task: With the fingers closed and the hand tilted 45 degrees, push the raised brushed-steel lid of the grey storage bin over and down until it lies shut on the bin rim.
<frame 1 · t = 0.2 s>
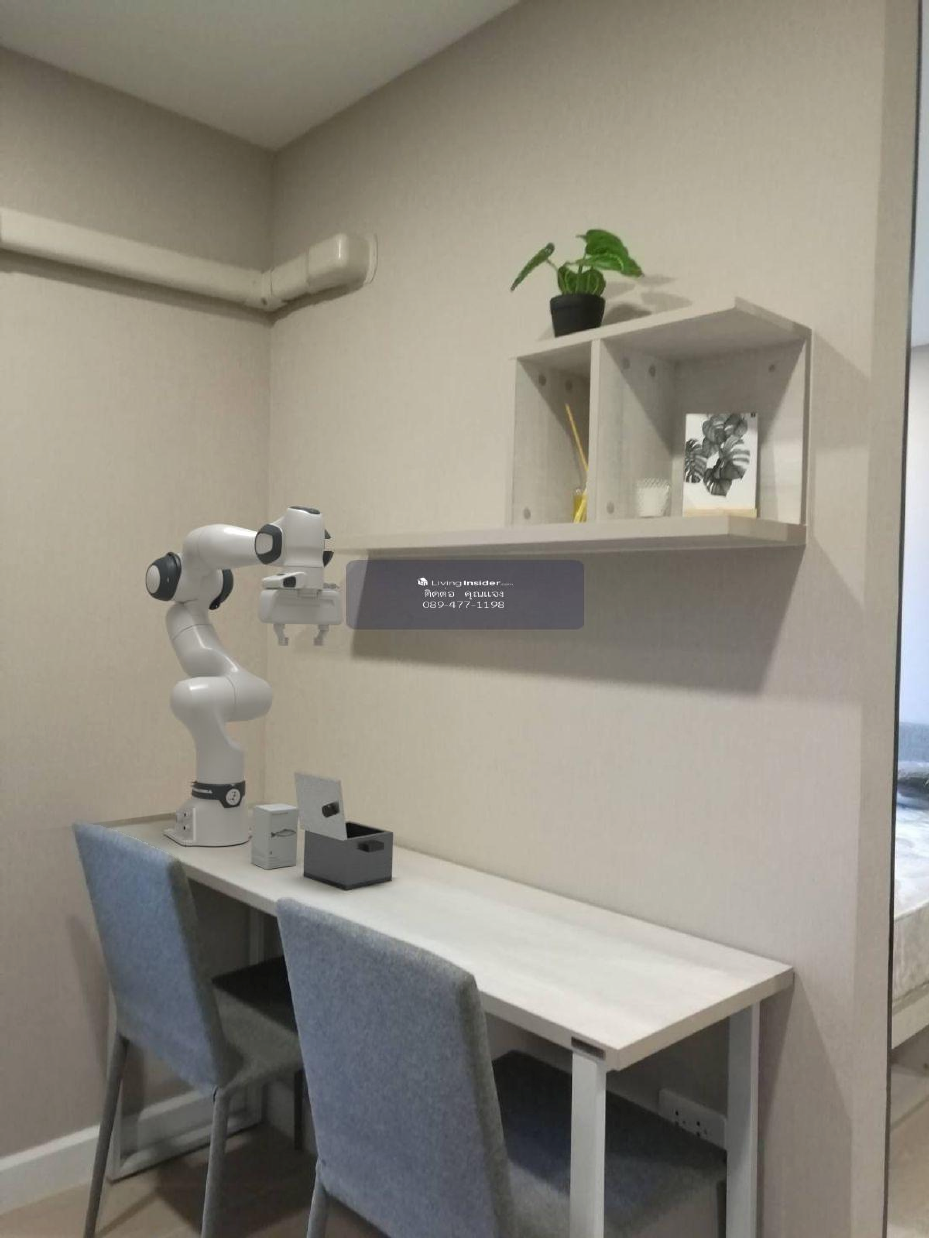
hand: (301, 645, 213), 48 cm above the table, tool pointing down, fingers open, 8 cm apart
lid: (316, 806, 198), point 16 cm above the table, hinge at 100.0°
grey storage bin: (347, 878, 204), on the table
supplement box: (273, 865, 214), on the table
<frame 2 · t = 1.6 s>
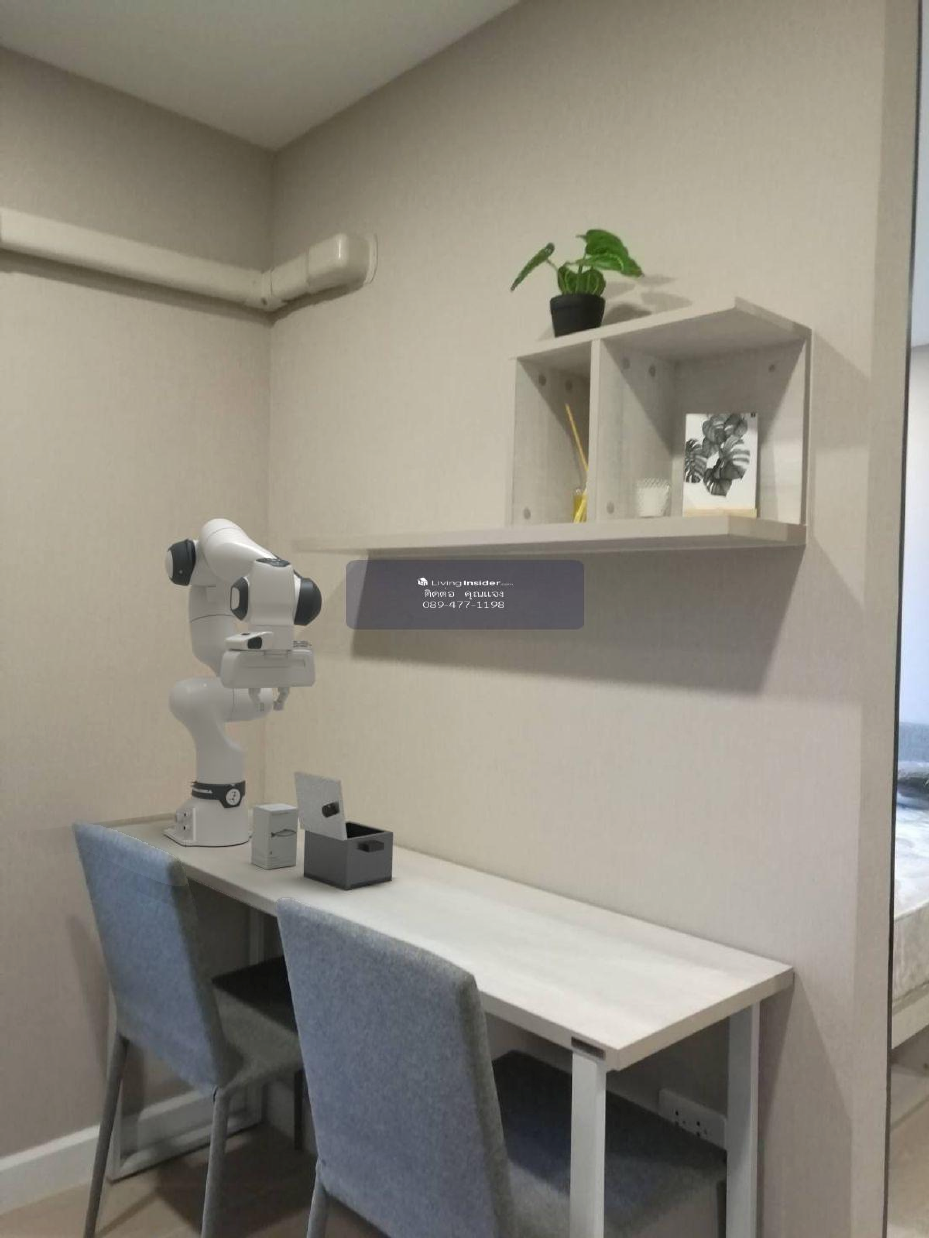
hand: (268, 710, 194), 35 cm above the table, tool pointing down, fingers open, 3 cm apart
nothing on the table moved.
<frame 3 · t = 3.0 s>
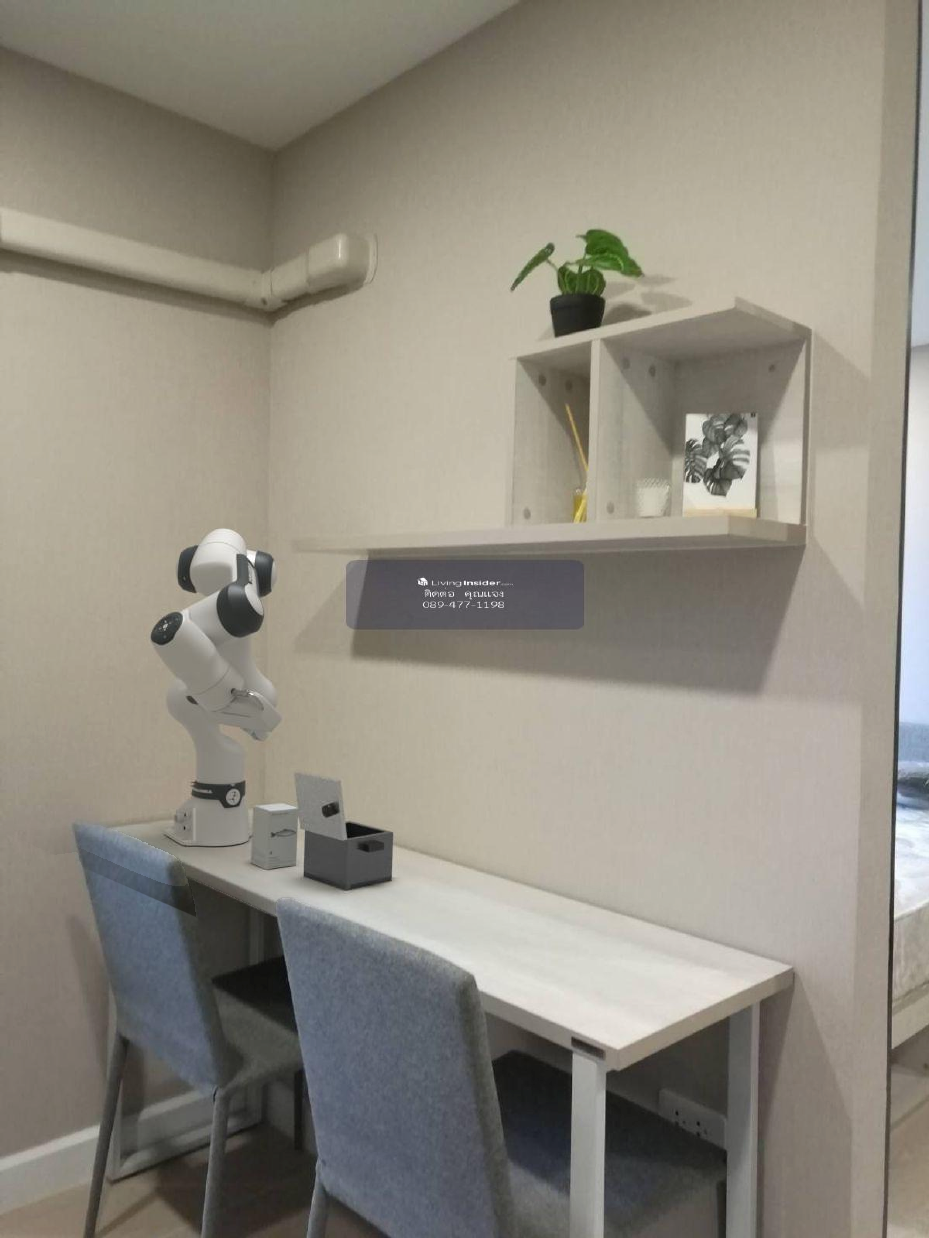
hand: (261, 738, 188), 30 cm above the table, tool tilted 45°, fingers closed
nothing on the table moved.
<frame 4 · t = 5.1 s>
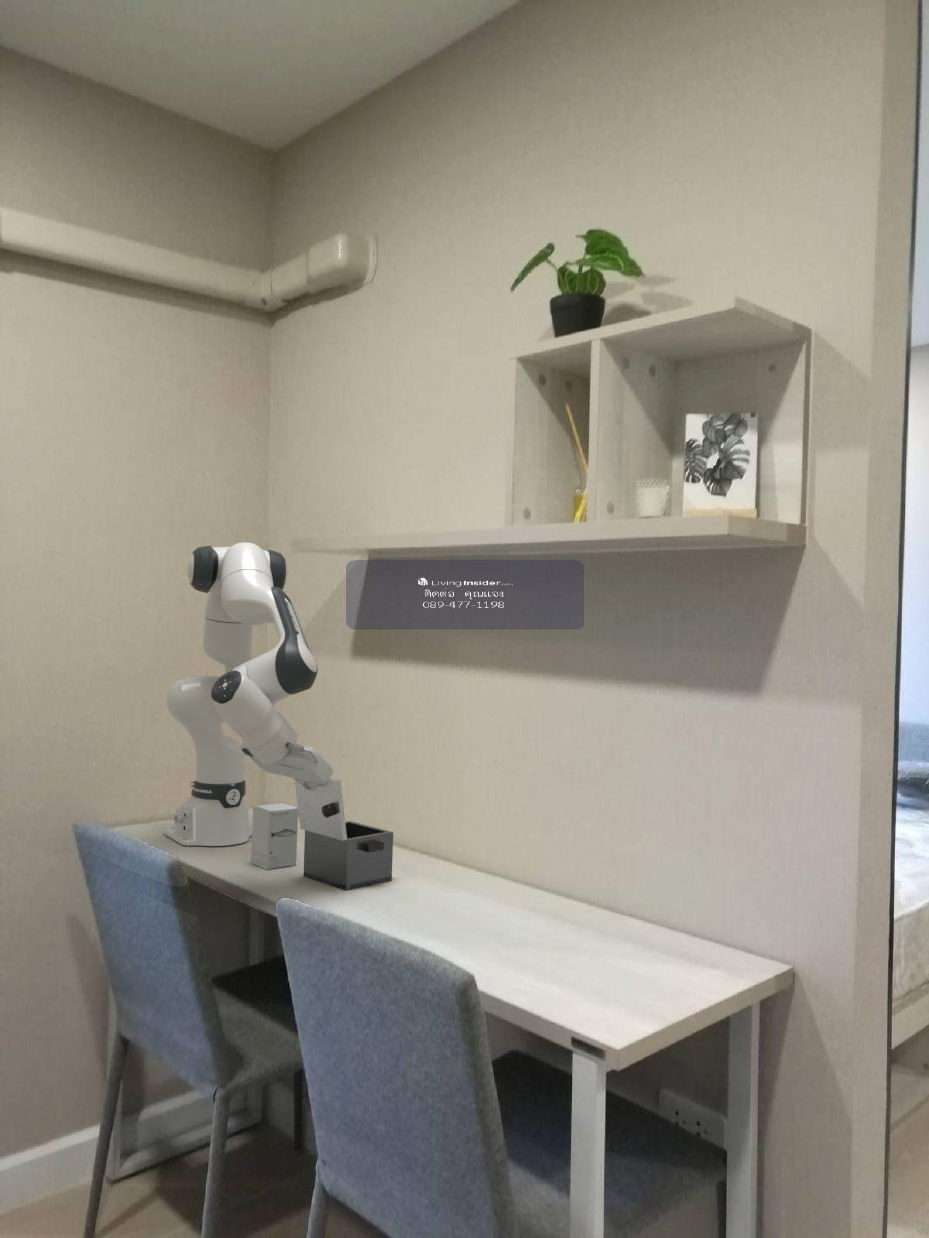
hand: (312, 787, 197), 20 cm above the table, tool tilted 45°, fingers closed, pressing on lid
lid: (316, 806, 198), point 16 cm above the table, hinge at 100.0°, touching gripper
everything else where it was.
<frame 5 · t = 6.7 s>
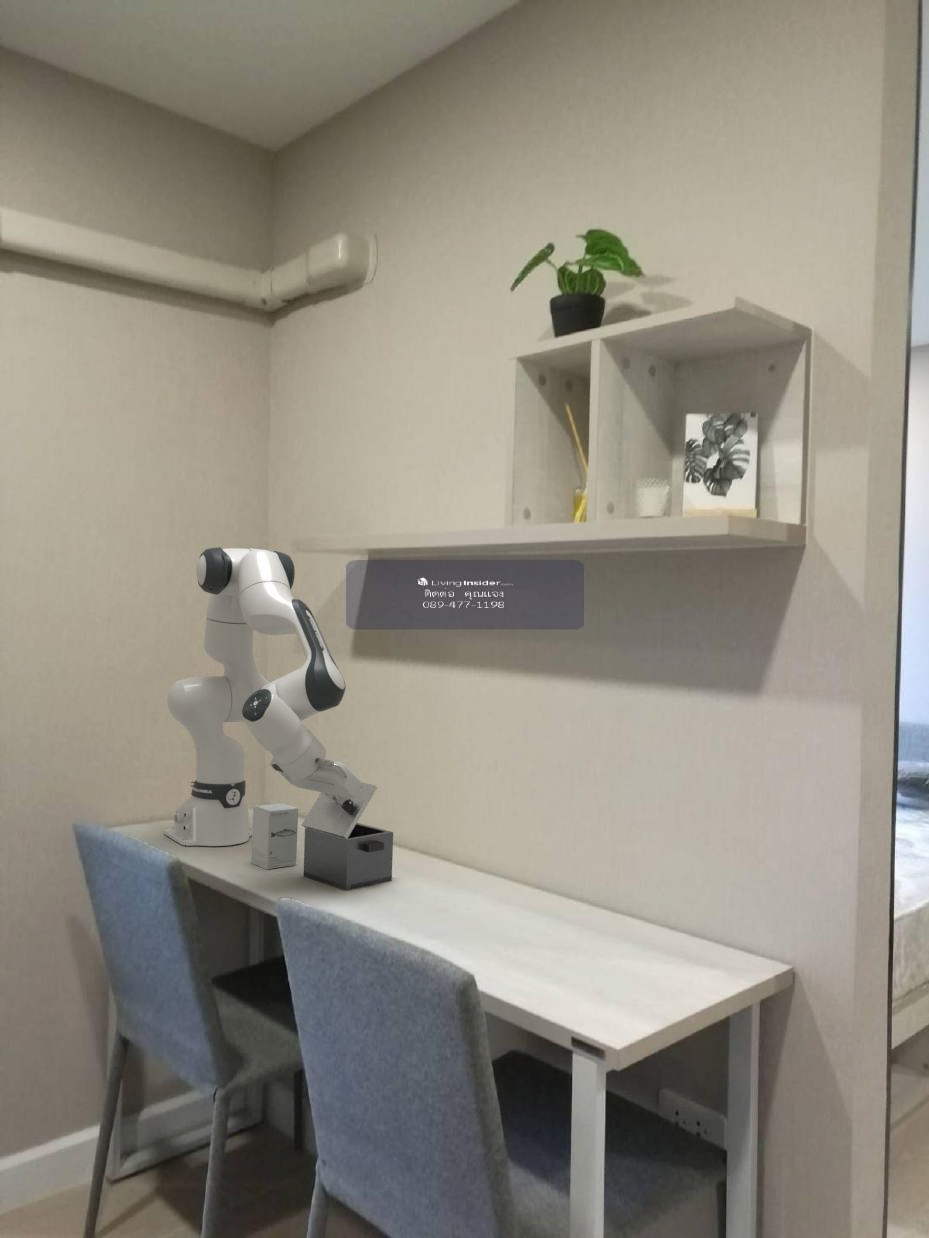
hand: (341, 801, 202), 16 cm above the table, tool tilted 45°, fingers closed, pressing on lid
lid: (336, 804, 202), point 16 cm above the table, hinge at 51.3°, touching gripper
everything else where it was.
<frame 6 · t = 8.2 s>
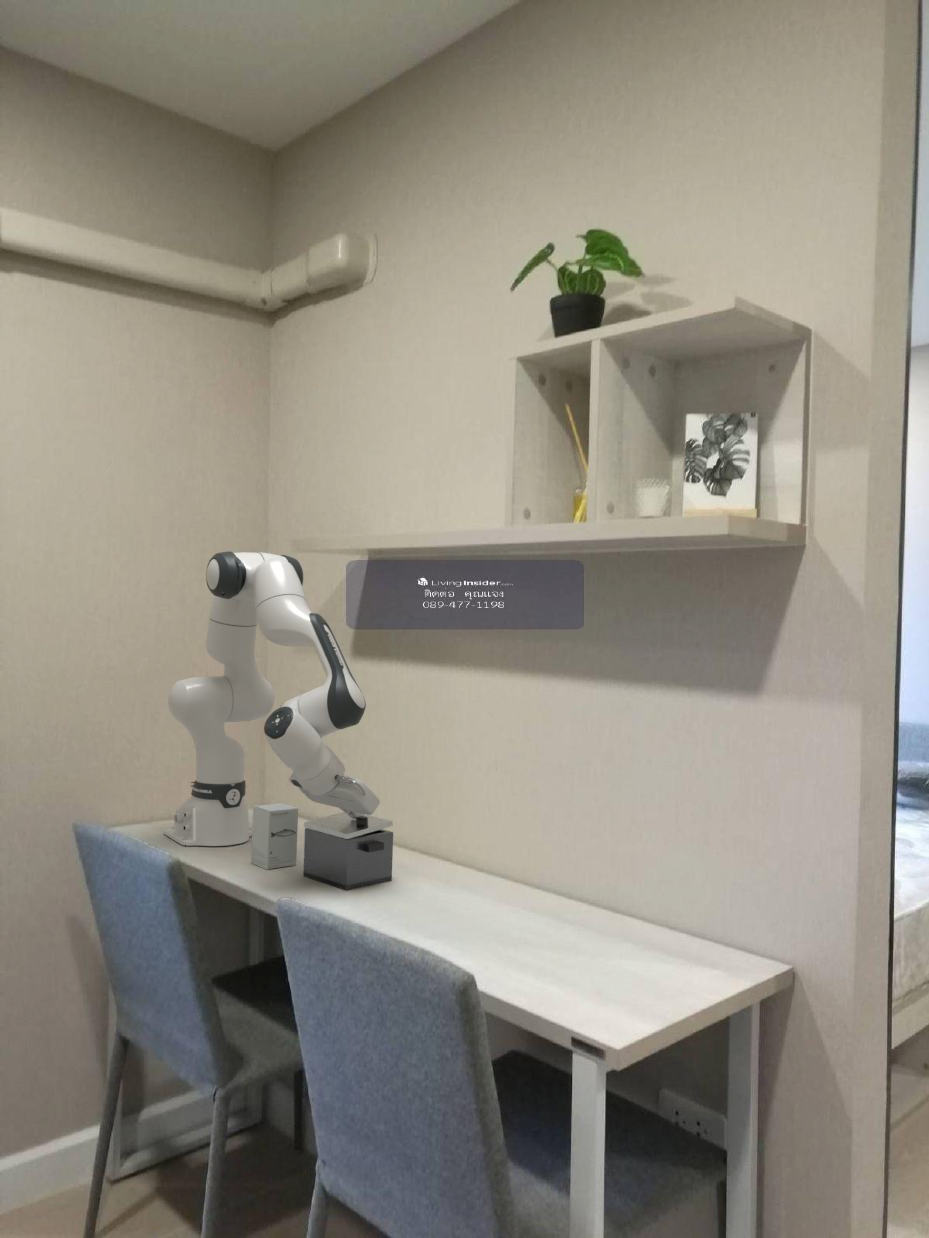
hand: (358, 816, 205), 13 cm above the table, tool tilted 45°, fingers closed, pressing on lid
lid: (348, 820, 204), point 12 cm above the table, hinge at 5.2°, touching gripper
everything else where it was.
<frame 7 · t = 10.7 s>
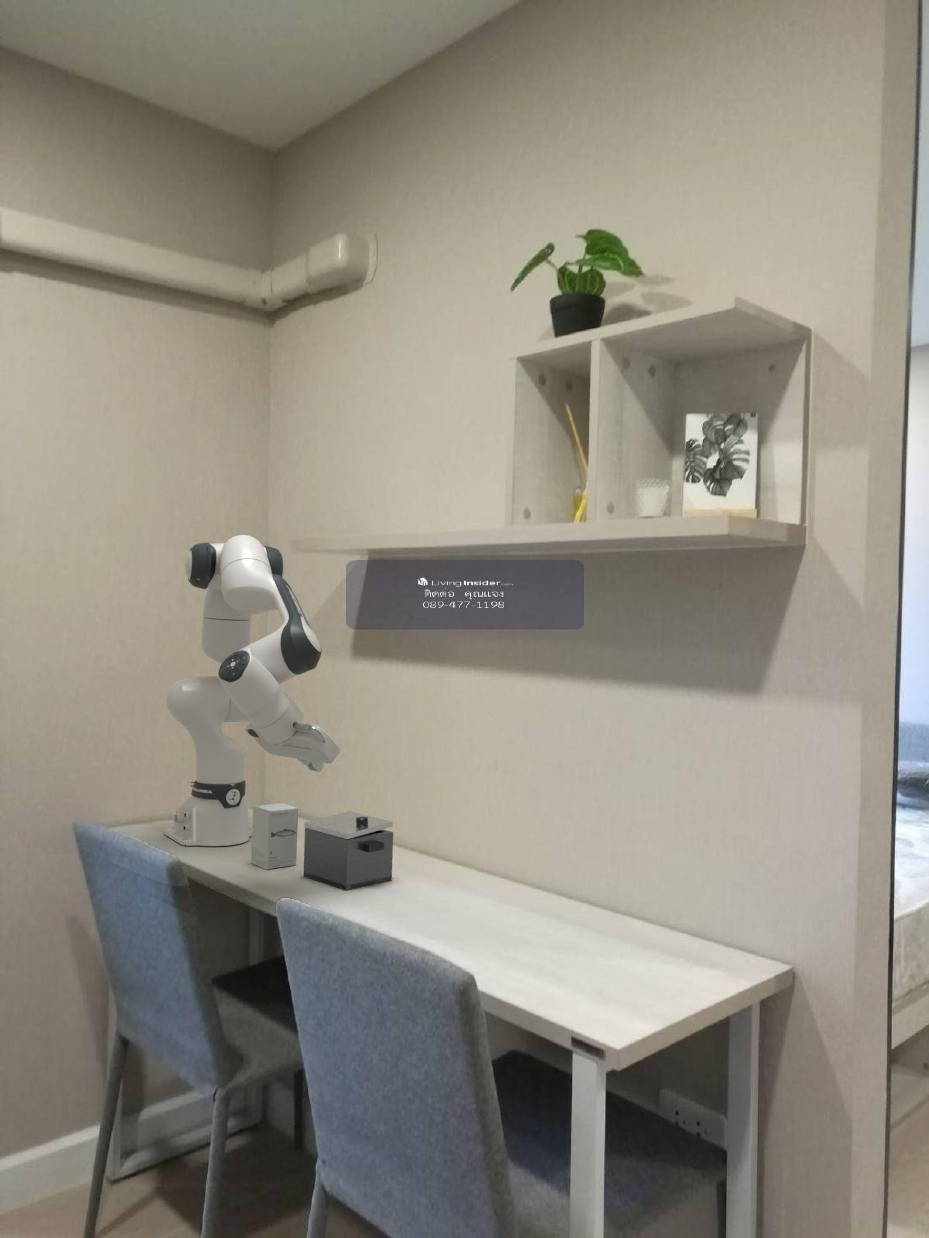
hand: (317, 768, 198), 23 cm above the table, tool tilted 45°, fingers closed
lid: (348, 820, 204), point 12 cm above the table, hinge at 4.7°
everything else where it was.
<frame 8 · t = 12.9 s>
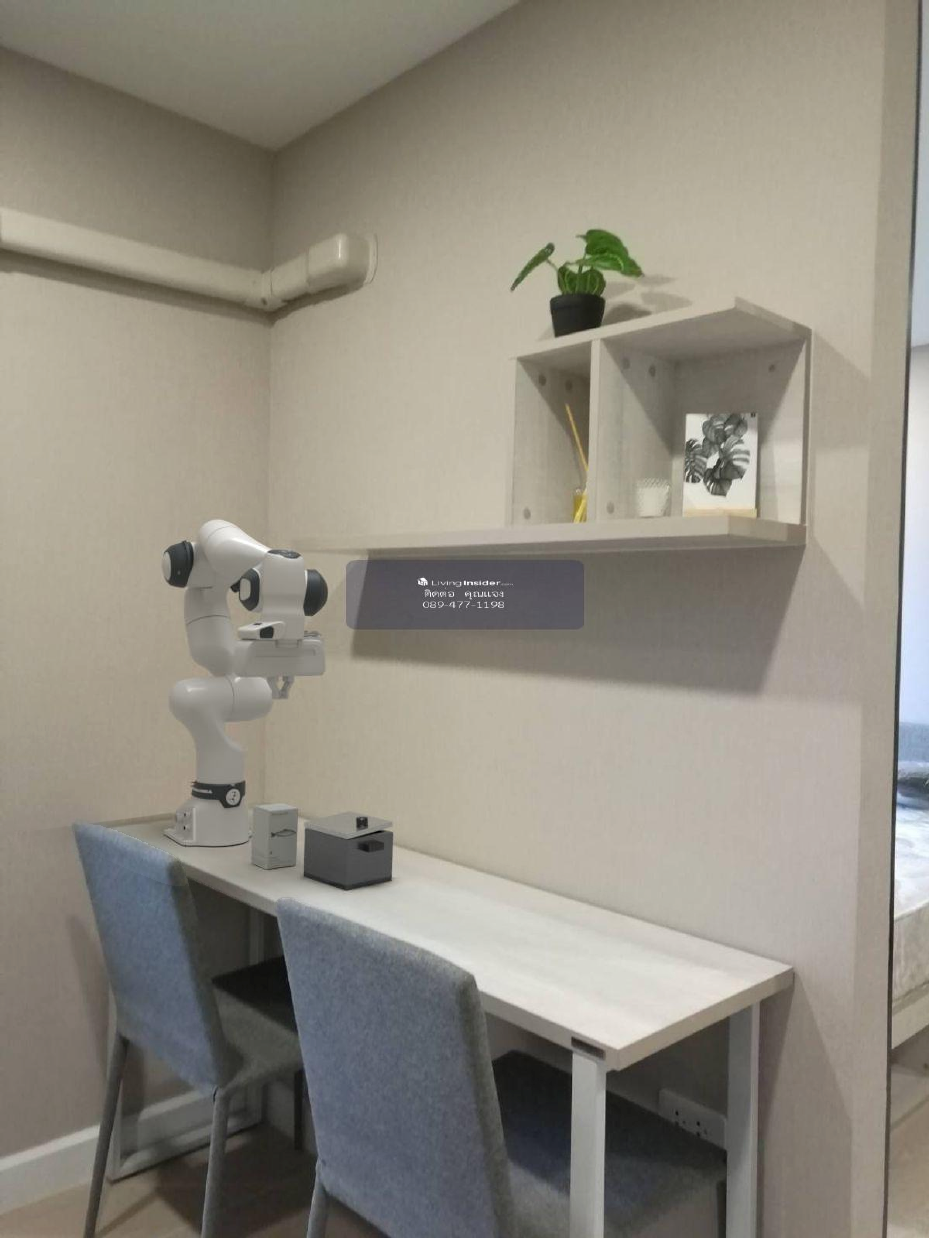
hand: (279, 699, 198), 37 cm above the table, tool pointing down, fingers closed
nothing on the table moved.
at the end: lid at +5° (first picture: +100°); the gripper is holding nothing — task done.
